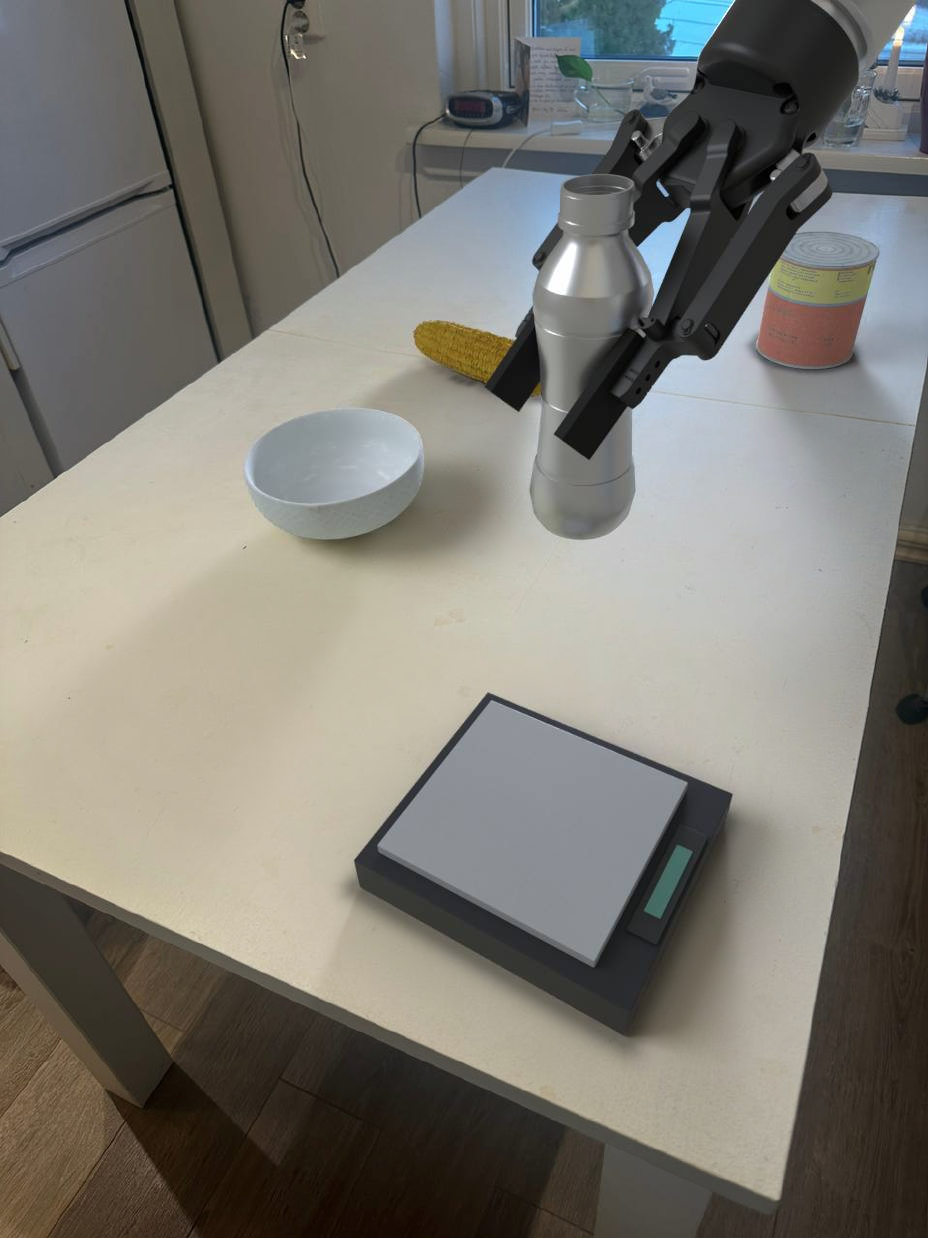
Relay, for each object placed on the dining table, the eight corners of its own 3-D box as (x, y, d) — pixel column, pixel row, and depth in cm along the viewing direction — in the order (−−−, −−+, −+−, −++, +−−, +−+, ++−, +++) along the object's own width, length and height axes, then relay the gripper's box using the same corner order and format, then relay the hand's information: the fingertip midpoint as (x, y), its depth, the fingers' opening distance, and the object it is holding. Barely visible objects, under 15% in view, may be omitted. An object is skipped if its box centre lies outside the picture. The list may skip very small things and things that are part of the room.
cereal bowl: (310, 456, 94) (298, 395, 89) (454, 481, 89) (450, 419, 84) (223, 547, 82) (204, 484, 77) (383, 582, 77) (374, 516, 72)
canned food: (872, 360, 104) (901, 257, 96) (787, 375, 102) (810, 272, 94) (818, 323, 112) (840, 225, 104) (738, 337, 110) (755, 239, 102)
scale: (725, 821, 57) (735, 785, 55) (625, 1037, 47) (631, 1005, 45) (489, 719, 65) (487, 683, 62) (359, 887, 55) (351, 853, 52)
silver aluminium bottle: (509, 533, 55) (503, 195, 42) (563, 482, 59) (573, 159, 46) (600, 566, 52) (624, 213, 39) (650, 510, 56) (688, 174, 43)
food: (559, 391, 102) (561, 343, 98) (529, 410, 99) (529, 361, 95) (430, 344, 113) (426, 299, 109) (399, 360, 110) (394, 314, 106)
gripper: (640, -36, 47) (406, 333, 52) (953, -10, 35) (608, 470, 40) (701, 64, 53) (484, 389, 58) (989, 116, 41) (682, 525, 45)
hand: (535, 421), depth 49 cm, fingers closed on silver aluminium bottle, 6 cm apart
